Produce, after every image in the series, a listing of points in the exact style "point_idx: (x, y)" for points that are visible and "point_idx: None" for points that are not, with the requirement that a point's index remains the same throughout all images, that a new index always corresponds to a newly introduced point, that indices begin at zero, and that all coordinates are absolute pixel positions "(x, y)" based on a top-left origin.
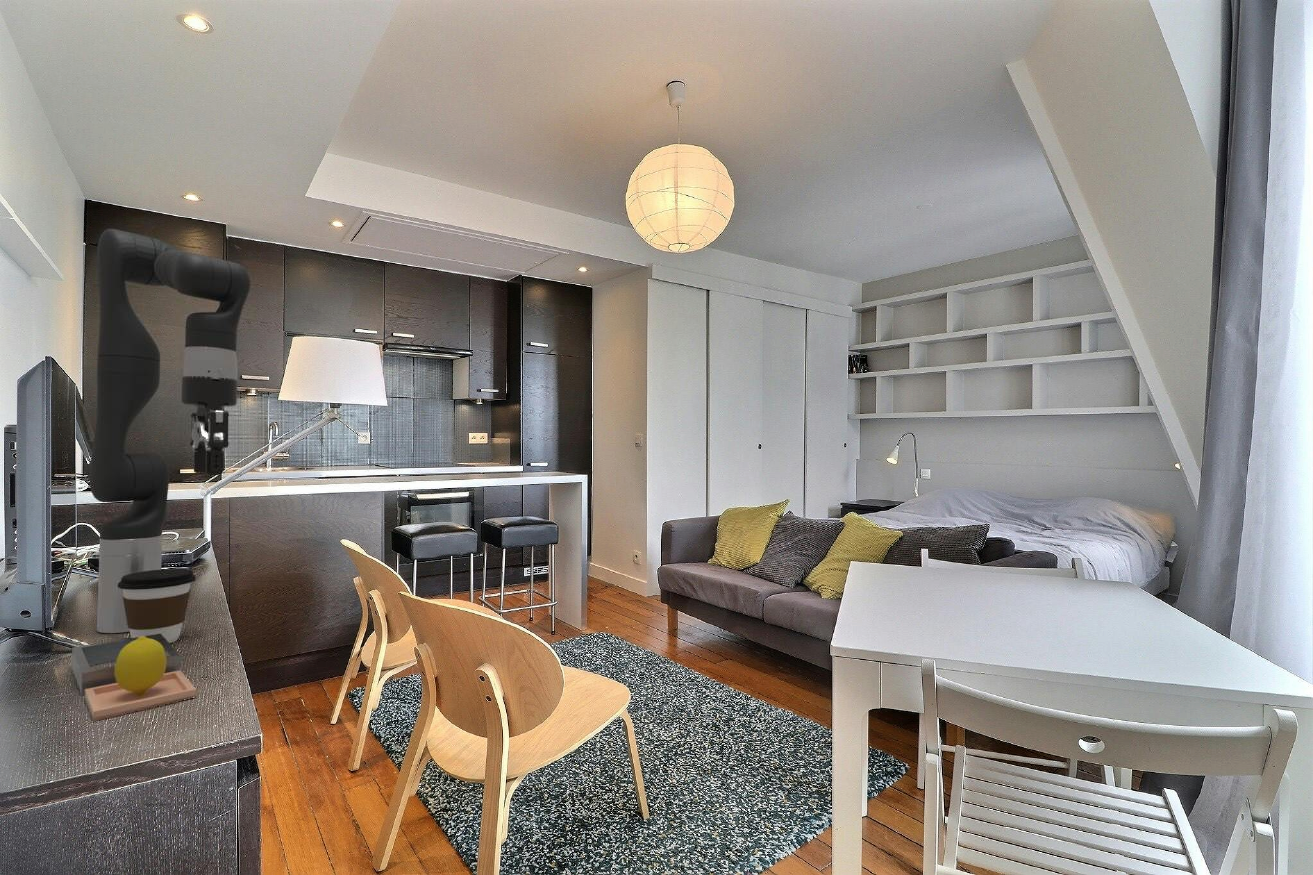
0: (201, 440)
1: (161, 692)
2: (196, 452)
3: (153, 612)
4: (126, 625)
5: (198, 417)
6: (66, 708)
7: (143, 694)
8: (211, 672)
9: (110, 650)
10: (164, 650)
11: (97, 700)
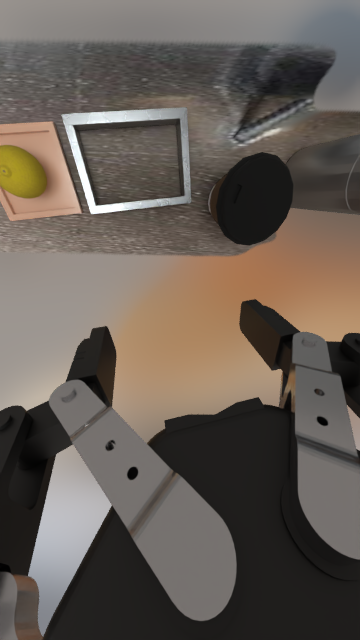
0: (288, 385)
1: None
2: (276, 337)
3: (214, 196)
4: None
5: (173, 598)
6: (25, 104)
7: None
8: (90, 237)
9: (180, 153)
10: (19, 196)
11: (3, 132)
